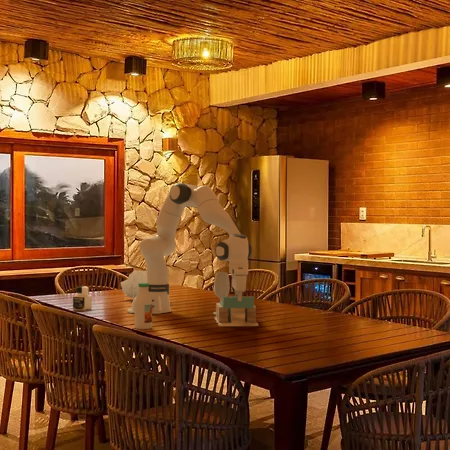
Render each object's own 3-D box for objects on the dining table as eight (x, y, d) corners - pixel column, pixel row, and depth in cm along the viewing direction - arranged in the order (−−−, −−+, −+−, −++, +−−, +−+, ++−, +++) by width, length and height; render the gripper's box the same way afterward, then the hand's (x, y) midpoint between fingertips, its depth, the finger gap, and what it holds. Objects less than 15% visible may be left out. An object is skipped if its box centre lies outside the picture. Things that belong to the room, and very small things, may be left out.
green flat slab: (220, 303, 320) (220, 293, 320) (249, 303, 321) (249, 293, 321) (223, 308, 306) (223, 297, 306) (253, 308, 308) (253, 297, 307)
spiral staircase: (138, 304, 400) (163, 307, 381) (115, 294, 389) (140, 296, 371) (148, 276, 405) (174, 277, 387) (126, 264, 395) (151, 265, 376)
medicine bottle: (72, 309, 350) (72, 286, 350) (80, 307, 357) (80, 285, 357) (84, 310, 348) (84, 287, 348) (92, 308, 354) (92, 286, 354)
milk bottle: (138, 330, 292) (138, 284, 292) (132, 327, 299) (132, 282, 299) (154, 328, 296) (155, 283, 296) (148, 326, 303) (148, 281, 302)
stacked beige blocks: (214, 319, 324) (214, 296, 324) (251, 318, 326) (251, 296, 326) (219, 326, 304) (219, 302, 304) (258, 326, 307) (258, 301, 306)
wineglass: (228, 316, 335) (228, 273, 334) (211, 315, 336) (211, 273, 336) (231, 313, 343) (232, 272, 343) (214, 312, 345) (215, 271, 344)
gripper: (229, 267, 317) (228, 296, 318) (234, 271, 297) (234, 302, 297) (242, 267, 318) (241, 296, 318) (248, 271, 298) (248, 302, 298)
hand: (238, 299), depth 308 cm, fingers open, 7 cm apart
